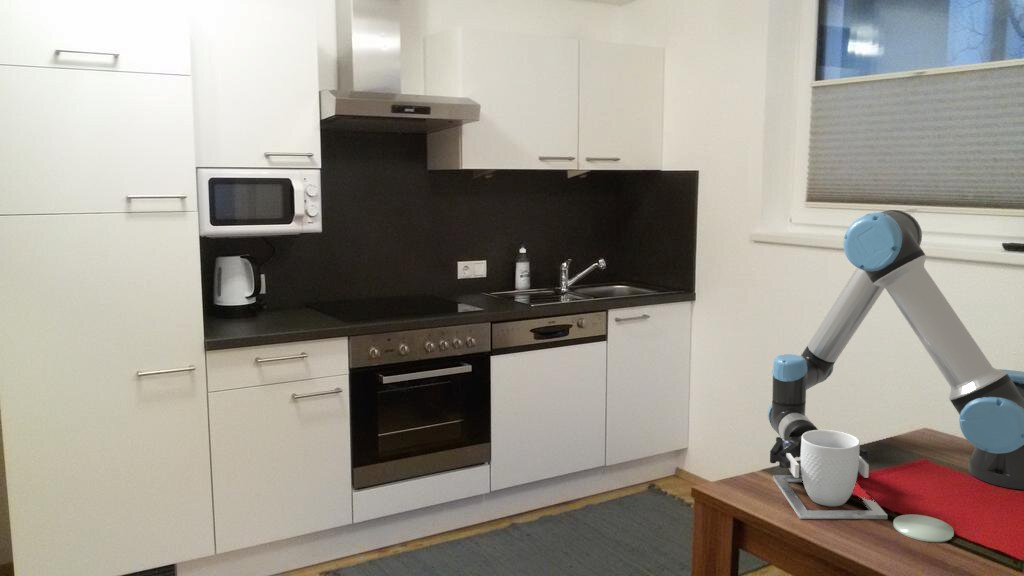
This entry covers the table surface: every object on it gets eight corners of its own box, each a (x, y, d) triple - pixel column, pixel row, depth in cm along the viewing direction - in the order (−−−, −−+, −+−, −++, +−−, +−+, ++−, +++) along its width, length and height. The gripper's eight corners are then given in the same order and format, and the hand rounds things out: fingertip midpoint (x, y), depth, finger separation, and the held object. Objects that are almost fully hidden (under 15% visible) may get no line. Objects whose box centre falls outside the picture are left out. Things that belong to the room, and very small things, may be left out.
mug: (791, 480, 170) (793, 422, 168) (845, 482, 168) (847, 424, 166) (804, 510, 156) (806, 447, 154) (863, 513, 154) (866, 449, 152)
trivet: (938, 517, 151) (938, 514, 151) (964, 542, 141) (964, 539, 141) (884, 517, 152) (884, 514, 152) (907, 542, 142) (907, 538, 142)
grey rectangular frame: (850, 478, 170) (850, 475, 170) (887, 519, 151) (887, 515, 151) (772, 478, 171) (773, 475, 171) (799, 518, 152) (800, 514, 152)
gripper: (855, 450, 178) (894, 489, 157) (744, 450, 180) (767, 489, 159) (857, 418, 177) (896, 453, 156) (744, 419, 179) (768, 453, 158)
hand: (831, 471), depth 158 cm, fingers open, 13 cm apart
